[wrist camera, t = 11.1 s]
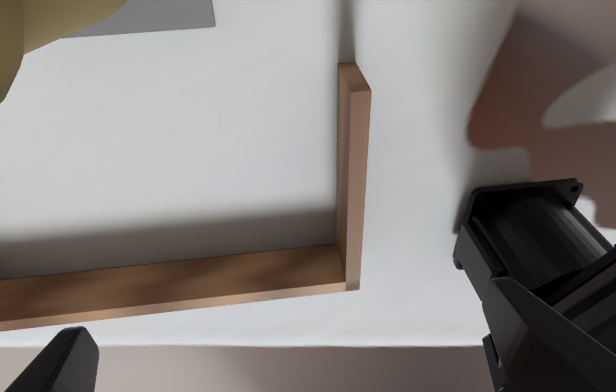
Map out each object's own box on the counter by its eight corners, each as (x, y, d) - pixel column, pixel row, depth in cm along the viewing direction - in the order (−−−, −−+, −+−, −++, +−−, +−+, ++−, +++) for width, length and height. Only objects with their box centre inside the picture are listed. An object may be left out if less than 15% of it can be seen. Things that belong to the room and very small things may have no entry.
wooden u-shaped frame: (355, 62, 18) (371, 90, 16) (349, 251, 26) (359, 289, 23) (-166, 104, 17) (-233, 141, 14) (-12, 291, 24) (-40, 336, 22)
